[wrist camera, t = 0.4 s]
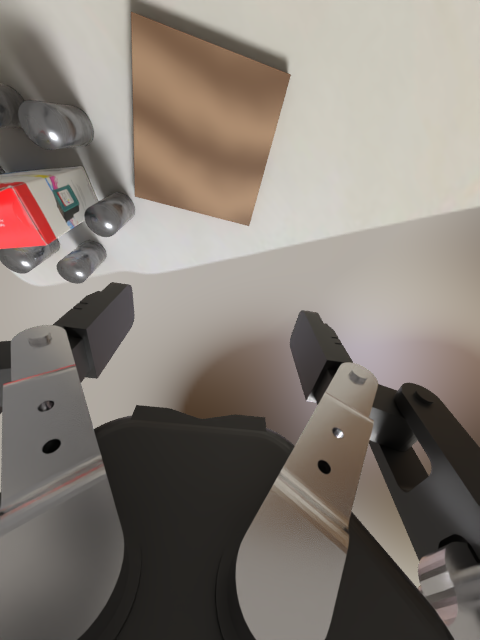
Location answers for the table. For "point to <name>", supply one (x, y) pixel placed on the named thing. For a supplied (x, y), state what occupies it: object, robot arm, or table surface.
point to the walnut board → (200, 121)
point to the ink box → (42, 205)
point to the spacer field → (102, 218)
